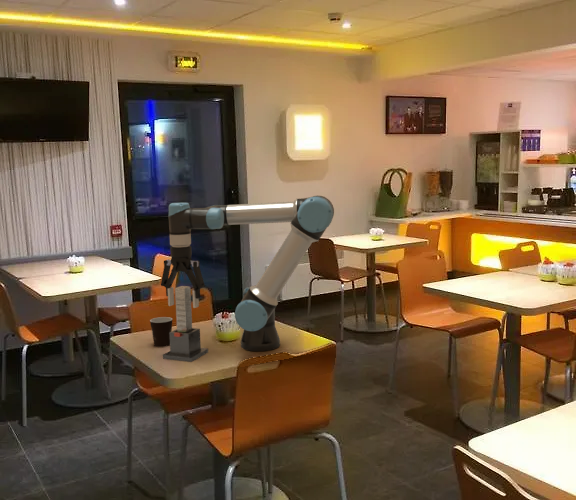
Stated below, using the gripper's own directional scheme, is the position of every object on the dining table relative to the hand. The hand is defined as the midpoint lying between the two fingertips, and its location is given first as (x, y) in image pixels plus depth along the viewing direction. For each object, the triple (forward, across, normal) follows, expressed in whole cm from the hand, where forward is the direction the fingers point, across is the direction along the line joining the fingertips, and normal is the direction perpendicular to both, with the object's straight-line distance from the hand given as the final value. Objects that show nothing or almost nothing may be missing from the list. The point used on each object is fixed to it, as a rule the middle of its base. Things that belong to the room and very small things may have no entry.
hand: (183, 306), depth 226 cm
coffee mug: (+19, +17, -11) cm, 28 cm away
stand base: (+19, 0, 0) cm, 19 cm away
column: (+11, 0, 0) cm, 11 cm away
